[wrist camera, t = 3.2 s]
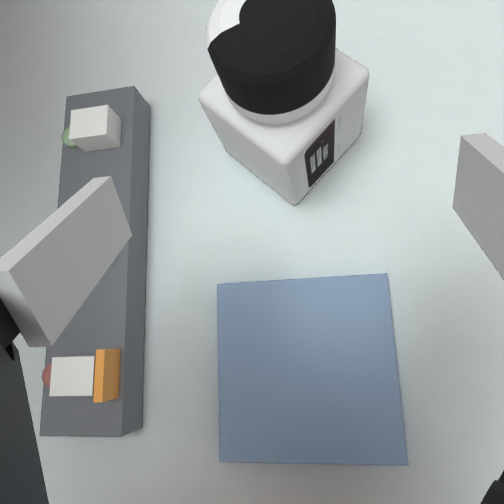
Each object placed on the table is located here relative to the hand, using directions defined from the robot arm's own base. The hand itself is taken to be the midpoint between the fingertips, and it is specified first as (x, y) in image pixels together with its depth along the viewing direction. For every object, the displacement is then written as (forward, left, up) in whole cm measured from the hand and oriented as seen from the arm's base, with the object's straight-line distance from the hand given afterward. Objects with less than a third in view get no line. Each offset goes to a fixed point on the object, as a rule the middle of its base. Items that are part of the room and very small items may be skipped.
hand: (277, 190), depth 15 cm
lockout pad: (+7, 0, -15) cm, 16 cm away
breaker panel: (-2, -15, -15) cm, 21 cm away
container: (-10, 0, -15) cm, 18 cm away
